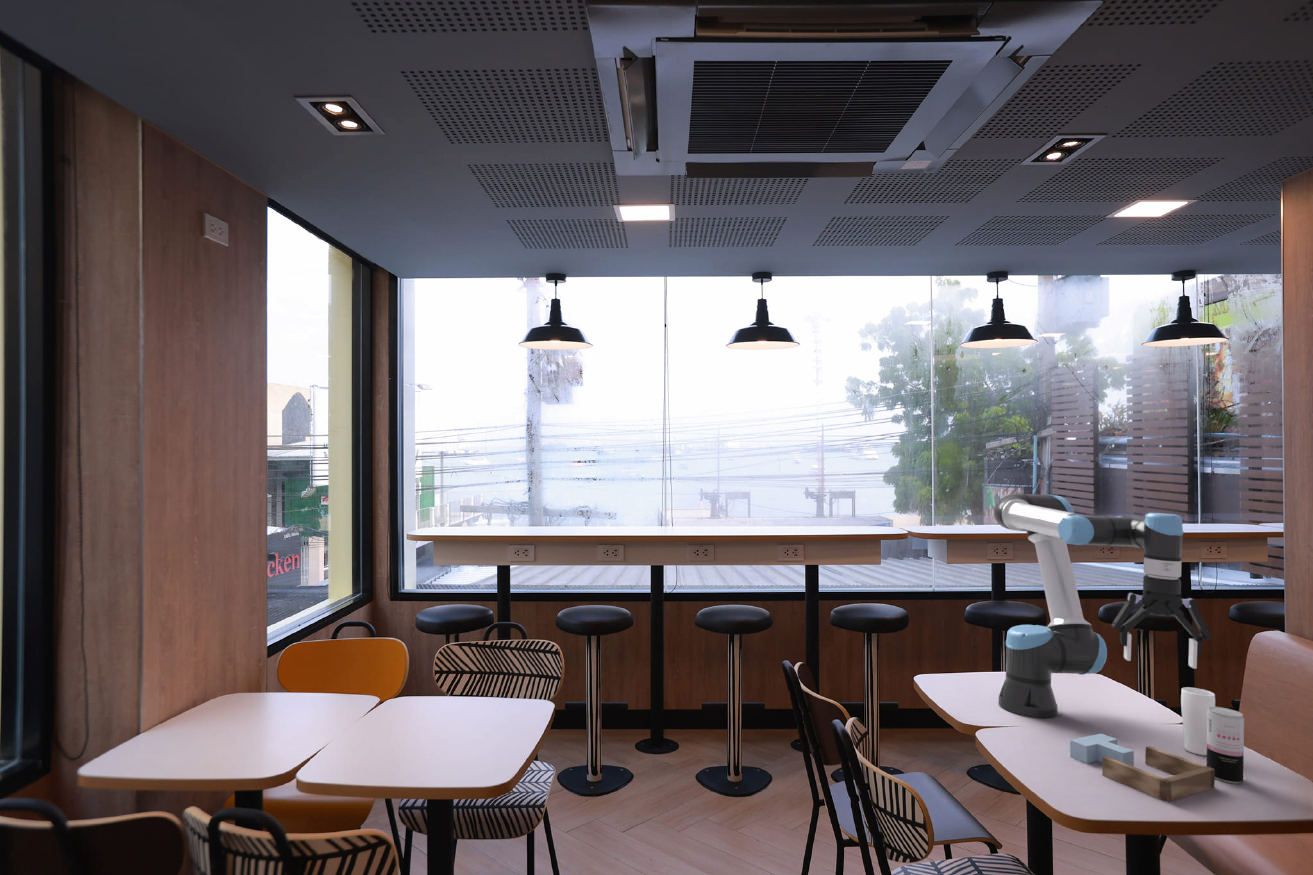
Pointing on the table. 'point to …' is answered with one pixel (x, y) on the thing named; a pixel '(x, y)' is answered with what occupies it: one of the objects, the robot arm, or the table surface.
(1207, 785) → the walnut corral
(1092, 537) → the robot arm
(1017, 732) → the table surface
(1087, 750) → the tee block
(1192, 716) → the white paper cup
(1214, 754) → the beverage can
